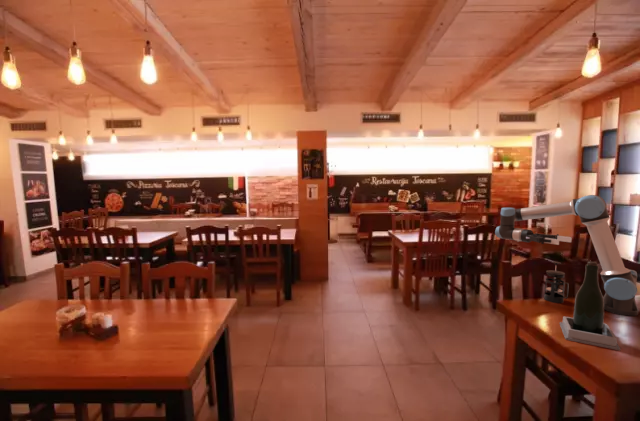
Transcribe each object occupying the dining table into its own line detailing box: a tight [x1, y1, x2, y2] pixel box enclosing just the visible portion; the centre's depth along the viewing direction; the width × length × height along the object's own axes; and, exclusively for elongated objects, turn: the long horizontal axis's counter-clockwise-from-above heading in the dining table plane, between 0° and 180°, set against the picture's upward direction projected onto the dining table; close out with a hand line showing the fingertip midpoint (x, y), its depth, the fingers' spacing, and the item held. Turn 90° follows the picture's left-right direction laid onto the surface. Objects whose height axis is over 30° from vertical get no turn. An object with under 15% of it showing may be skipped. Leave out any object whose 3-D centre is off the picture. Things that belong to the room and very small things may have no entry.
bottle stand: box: [559, 316, 621, 351], centre depth 142 cm, size 18×18×4 cm
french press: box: [543, 261, 570, 304], centre depth 184 cm, size 12×9×23 cm
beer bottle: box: [572, 261, 605, 335], centre depth 141 cm, size 10×10×33 cm
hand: (565, 241), depth 168 cm, fingers open, 13 cm apart
